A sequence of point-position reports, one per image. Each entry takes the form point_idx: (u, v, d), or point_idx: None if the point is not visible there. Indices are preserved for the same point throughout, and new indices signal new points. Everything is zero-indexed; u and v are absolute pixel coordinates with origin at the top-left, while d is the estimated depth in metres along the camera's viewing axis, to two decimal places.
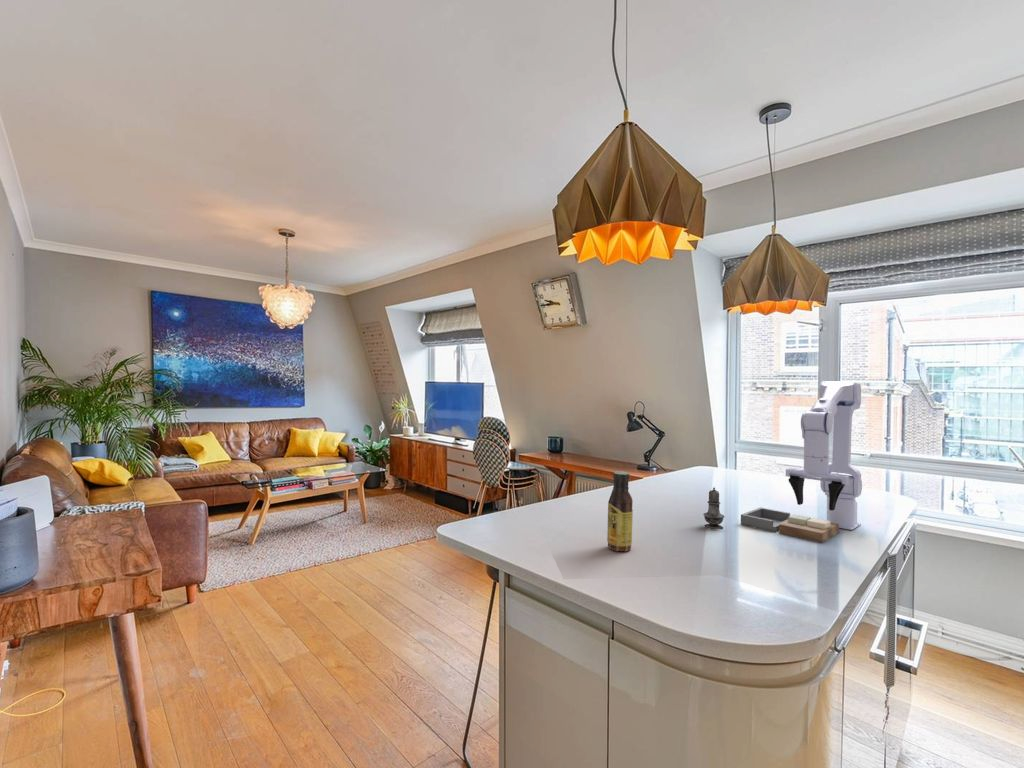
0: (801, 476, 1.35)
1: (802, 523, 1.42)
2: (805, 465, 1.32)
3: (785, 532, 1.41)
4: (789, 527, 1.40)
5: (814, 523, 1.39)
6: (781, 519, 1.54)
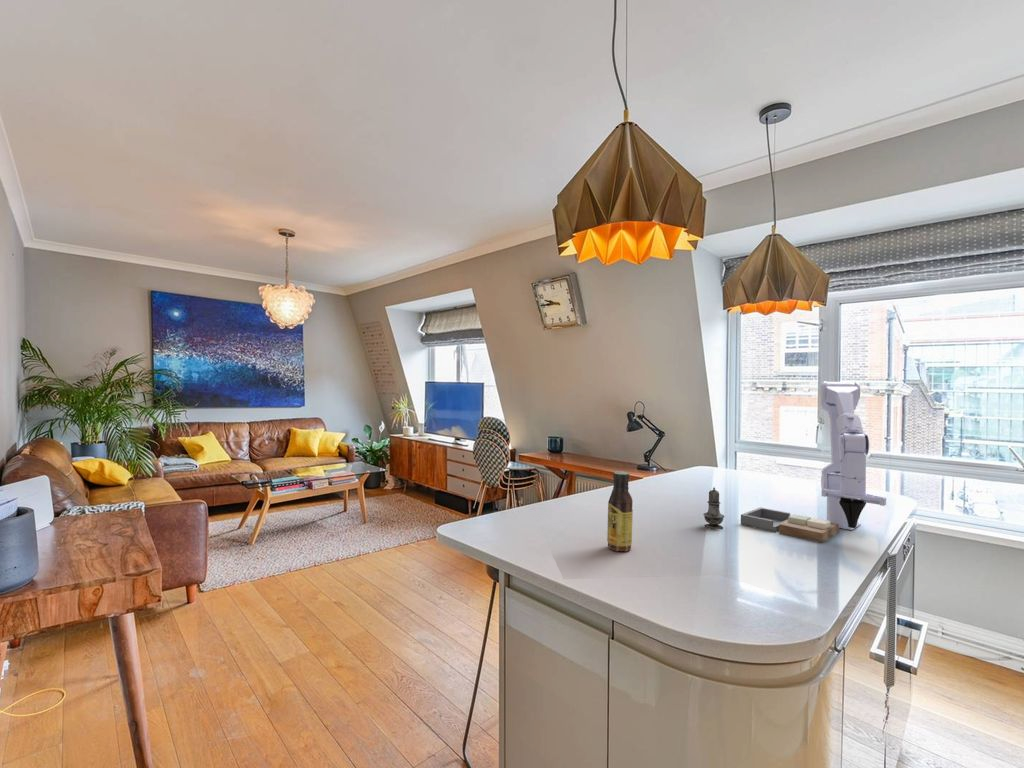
0: (837, 496, 1.37)
1: (802, 523, 1.42)
2: (842, 486, 1.34)
3: (785, 532, 1.41)
4: (789, 527, 1.40)
5: (814, 523, 1.39)
6: (781, 519, 1.54)
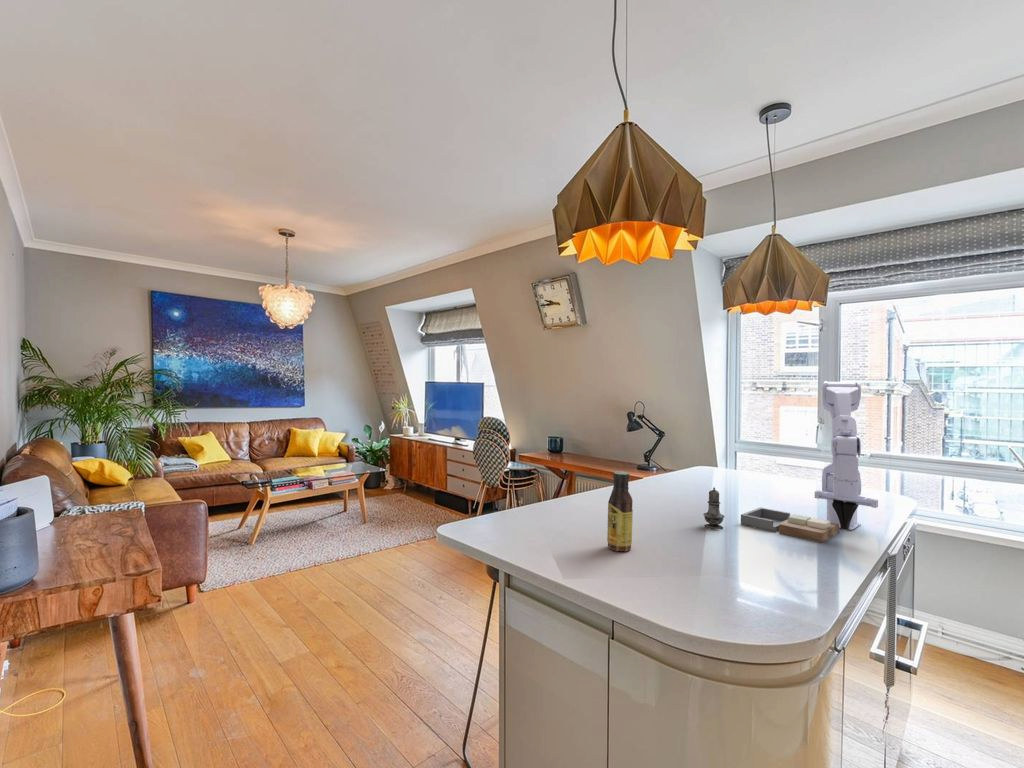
0: (830, 498, 1.38)
1: (802, 523, 1.42)
2: (835, 488, 1.36)
3: (785, 532, 1.41)
4: (789, 527, 1.40)
5: (814, 523, 1.39)
6: (781, 519, 1.54)
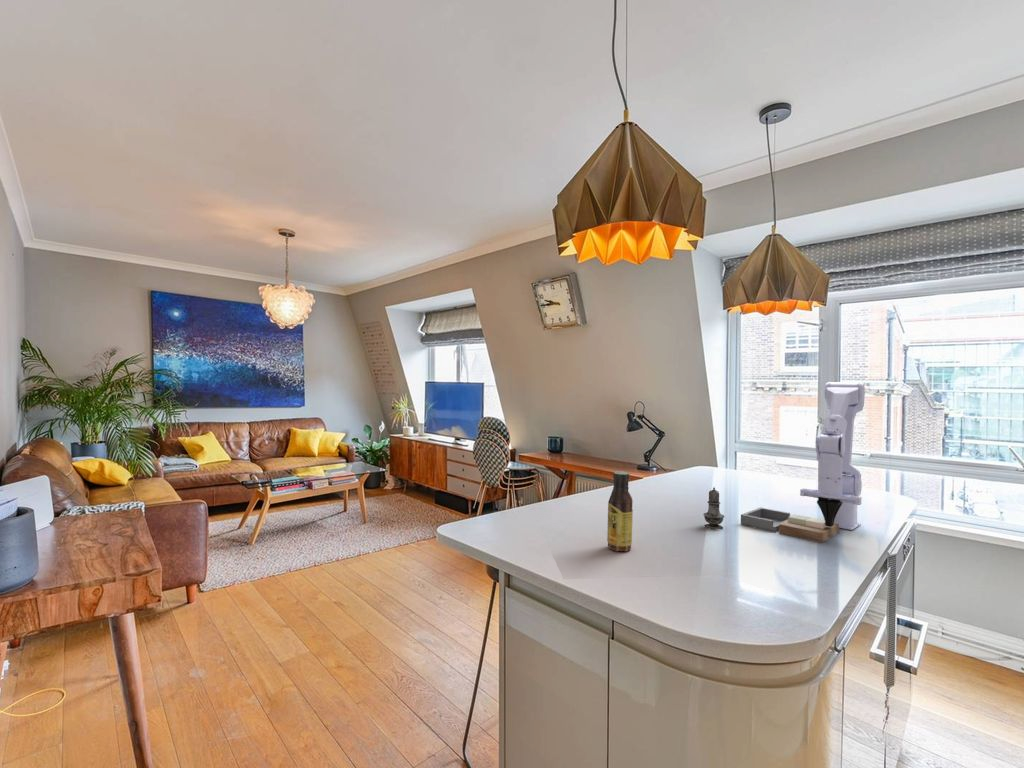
0: (815, 496, 1.41)
1: (802, 523, 1.42)
2: (819, 486, 1.38)
3: (785, 532, 1.41)
4: (789, 527, 1.40)
5: (812, 523, 1.40)
6: (781, 519, 1.54)
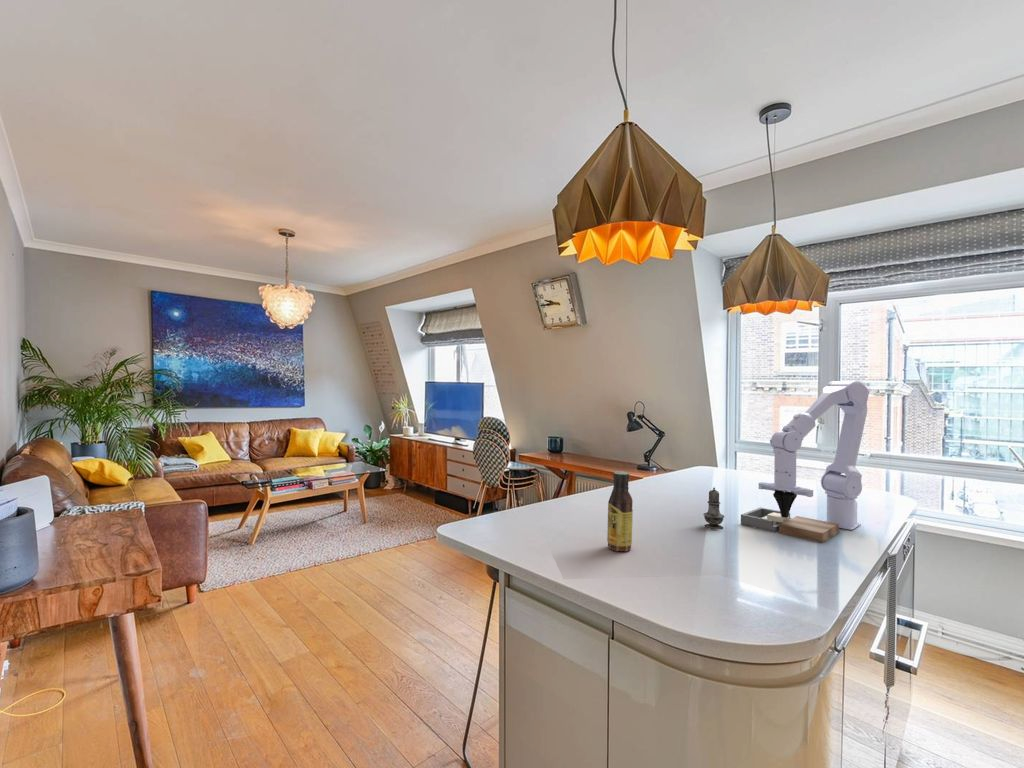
0: (772, 489, 1.50)
1: (773, 524, 1.48)
2: (775, 479, 1.47)
3: (785, 532, 1.41)
4: (789, 527, 1.40)
5: (773, 517, 1.48)
6: None
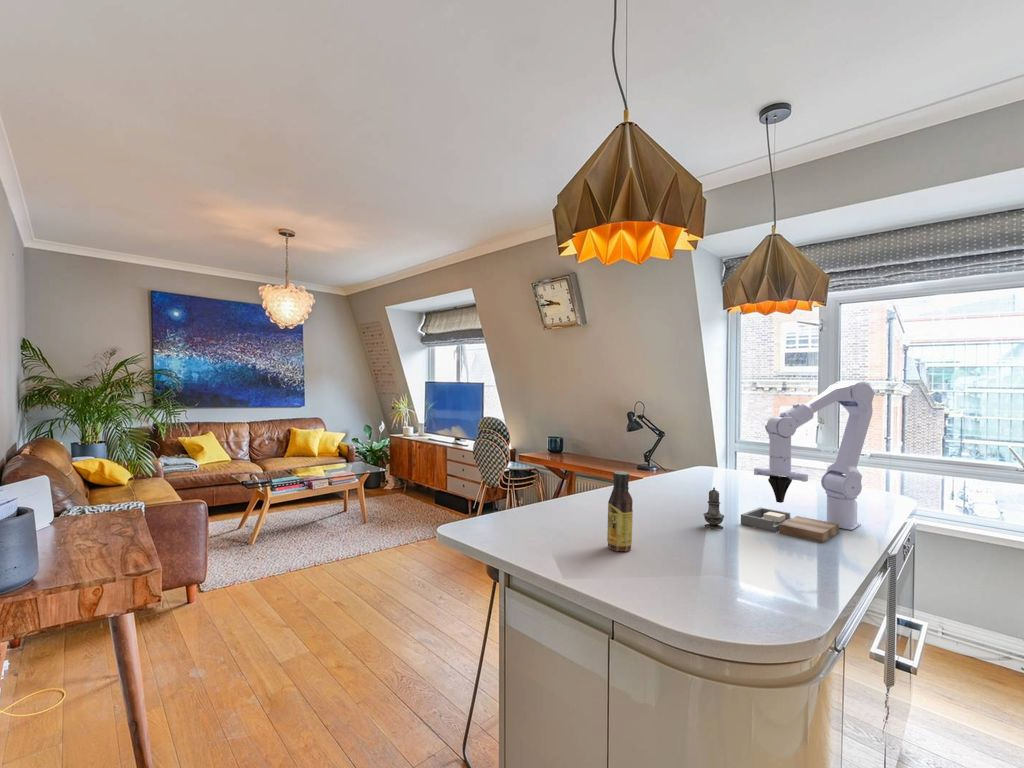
0: (767, 474, 1.51)
1: (773, 524, 1.48)
2: (770, 465, 1.48)
3: (785, 532, 1.41)
4: (789, 527, 1.40)
5: (769, 516, 1.48)
6: None
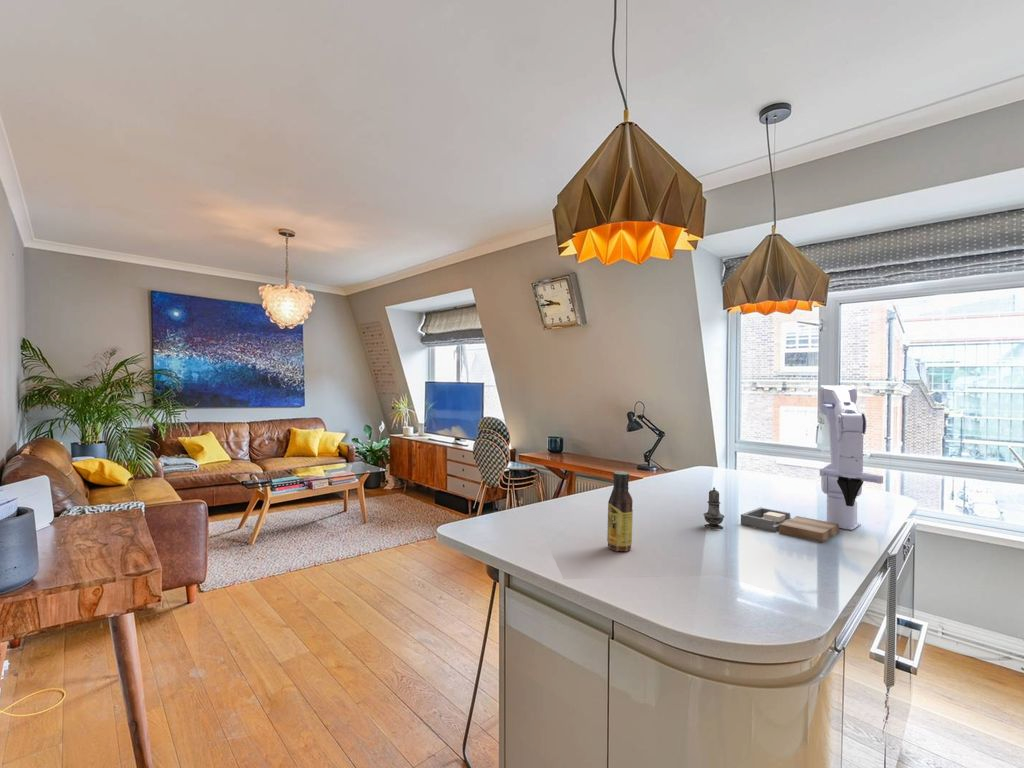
0: (835, 476, 1.39)
1: (773, 524, 1.48)
2: (840, 465, 1.37)
3: (785, 532, 1.41)
4: (789, 527, 1.40)
5: (769, 516, 1.48)
6: None
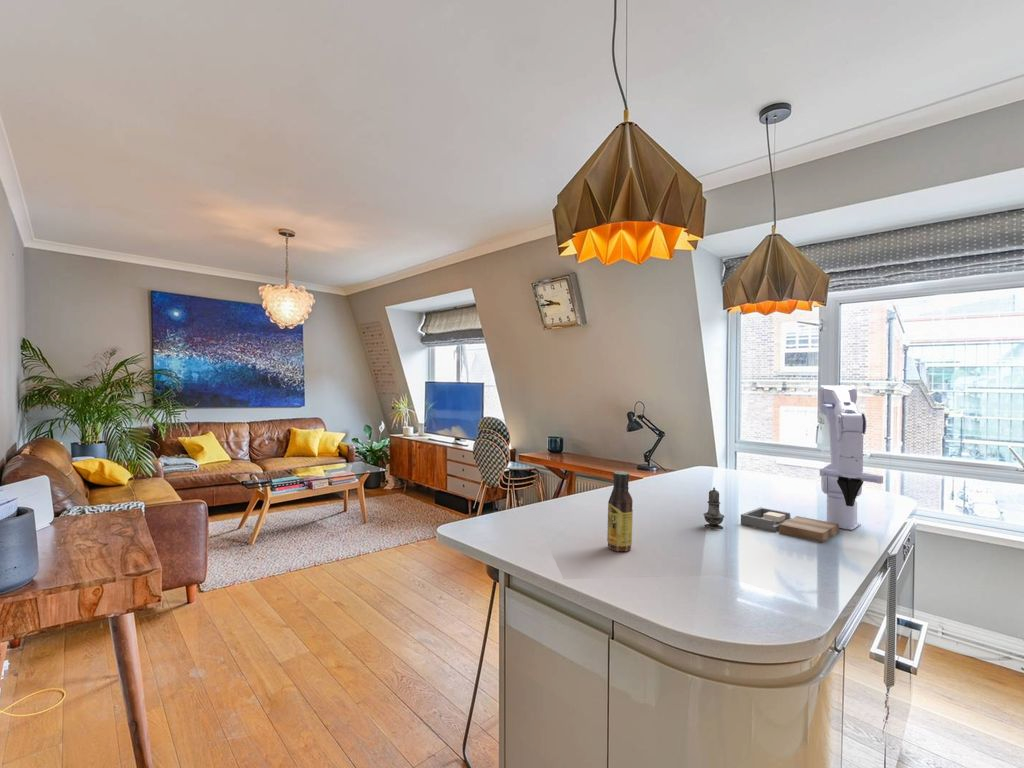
0: (835, 476, 1.39)
1: (773, 524, 1.48)
2: (840, 465, 1.37)
3: (785, 532, 1.41)
4: (789, 527, 1.40)
5: (769, 516, 1.48)
6: None
